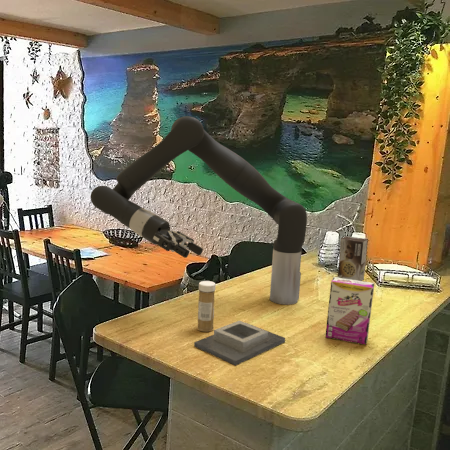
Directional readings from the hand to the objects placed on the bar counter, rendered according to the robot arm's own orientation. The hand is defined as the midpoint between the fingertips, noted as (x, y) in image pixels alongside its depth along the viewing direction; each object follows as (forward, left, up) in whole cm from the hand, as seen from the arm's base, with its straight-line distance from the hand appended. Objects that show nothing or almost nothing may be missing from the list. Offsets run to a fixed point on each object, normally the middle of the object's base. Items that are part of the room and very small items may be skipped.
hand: (194, 253), depth 136 cm
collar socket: (0, +18, -21) cm, 27 cm away
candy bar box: (-25, +35, -21) cm, 48 cm away
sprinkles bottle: (0, +5, -21) cm, 21 cm away
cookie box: (-79, +7, -21) cm, 82 cm away
